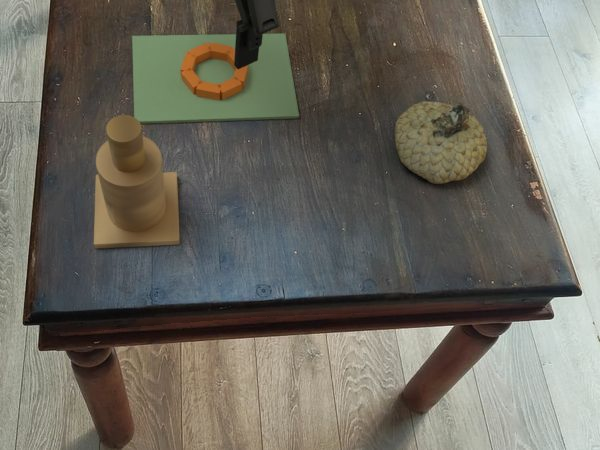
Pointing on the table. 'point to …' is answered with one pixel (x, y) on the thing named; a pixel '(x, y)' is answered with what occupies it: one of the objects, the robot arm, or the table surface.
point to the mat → (210, 81)
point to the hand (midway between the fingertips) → (212, 25)
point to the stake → (133, 190)
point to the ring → (208, 88)
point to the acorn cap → (440, 141)
